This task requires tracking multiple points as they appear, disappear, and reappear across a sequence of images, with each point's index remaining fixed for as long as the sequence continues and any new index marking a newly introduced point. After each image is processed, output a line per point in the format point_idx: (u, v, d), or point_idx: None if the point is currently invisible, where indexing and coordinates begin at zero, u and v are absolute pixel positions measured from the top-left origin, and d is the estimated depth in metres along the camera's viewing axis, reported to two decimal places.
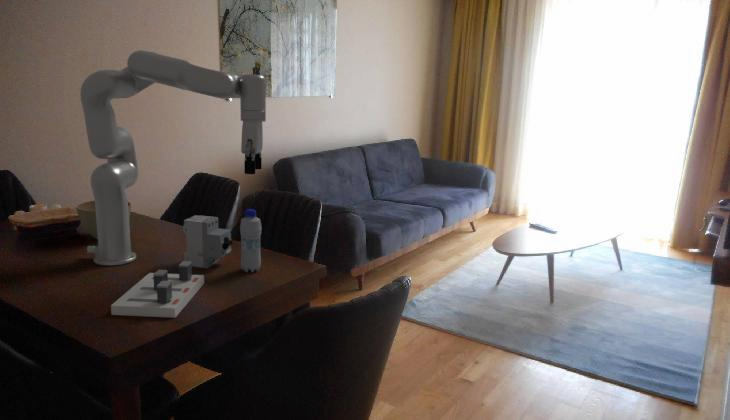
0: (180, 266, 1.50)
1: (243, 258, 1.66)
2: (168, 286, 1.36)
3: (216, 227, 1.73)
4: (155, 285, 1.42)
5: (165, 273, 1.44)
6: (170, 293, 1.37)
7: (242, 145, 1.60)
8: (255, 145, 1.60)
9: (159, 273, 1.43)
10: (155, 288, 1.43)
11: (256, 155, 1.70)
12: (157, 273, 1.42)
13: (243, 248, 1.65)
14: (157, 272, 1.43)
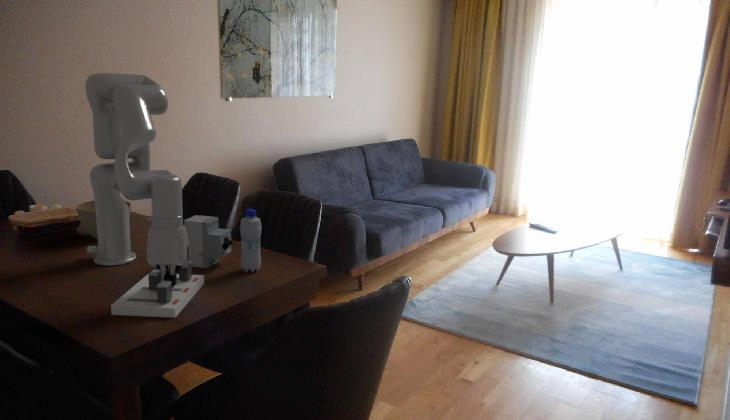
0: None
1: (243, 258, 1.66)
2: (168, 286, 1.36)
3: (216, 227, 1.73)
4: (150, 285, 1.42)
5: (160, 273, 1.44)
6: (170, 293, 1.37)
7: (184, 256, 1.40)
8: None
9: (154, 272, 1.43)
10: (150, 288, 1.43)
11: (168, 271, 1.44)
12: (152, 273, 1.42)
13: (243, 248, 1.65)
14: (152, 272, 1.43)
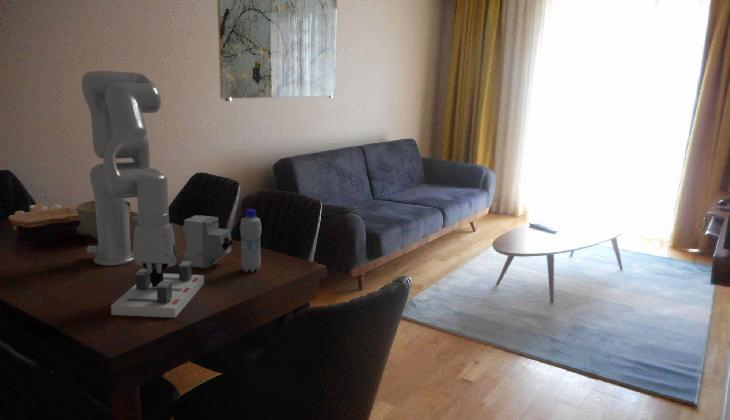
0: (180, 266, 1.50)
1: (243, 258, 1.66)
2: (168, 286, 1.36)
3: (216, 227, 1.73)
4: (137, 284, 1.42)
5: (147, 272, 1.44)
6: (170, 293, 1.37)
7: (170, 253, 1.40)
8: (175, 249, 1.44)
9: (141, 272, 1.43)
10: (137, 287, 1.43)
11: (155, 269, 1.43)
12: (139, 272, 1.42)
13: (243, 248, 1.65)
14: (139, 271, 1.43)
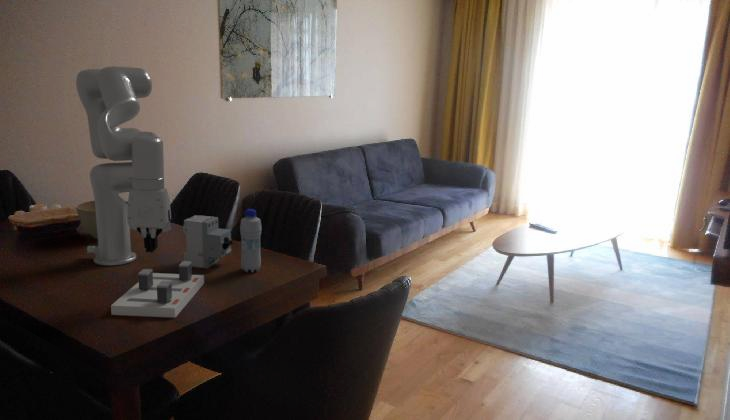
0: (180, 266, 1.50)
1: (243, 258, 1.66)
2: (168, 286, 1.36)
3: (216, 227, 1.73)
4: (140, 284, 1.42)
5: (150, 272, 1.44)
6: (170, 293, 1.37)
7: (165, 219, 1.38)
8: (170, 214, 1.42)
9: (144, 272, 1.43)
10: (140, 287, 1.43)
11: (149, 234, 1.42)
12: (142, 272, 1.42)
13: (243, 248, 1.65)
14: (142, 271, 1.43)
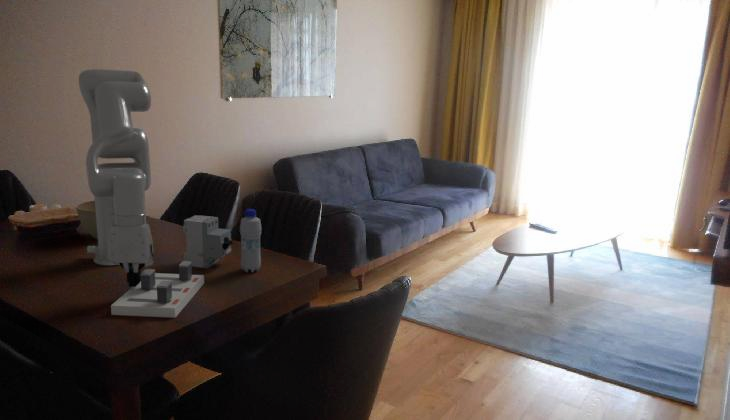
0: (180, 266, 1.50)
1: (243, 258, 1.66)
2: (168, 286, 1.36)
3: (216, 227, 1.73)
4: (142, 284, 1.42)
5: (152, 272, 1.44)
6: (170, 293, 1.37)
7: (147, 254, 1.40)
8: None
9: (146, 272, 1.43)
10: (142, 287, 1.43)
11: (132, 269, 1.43)
12: (144, 272, 1.42)
13: (243, 248, 1.65)
14: (144, 271, 1.43)
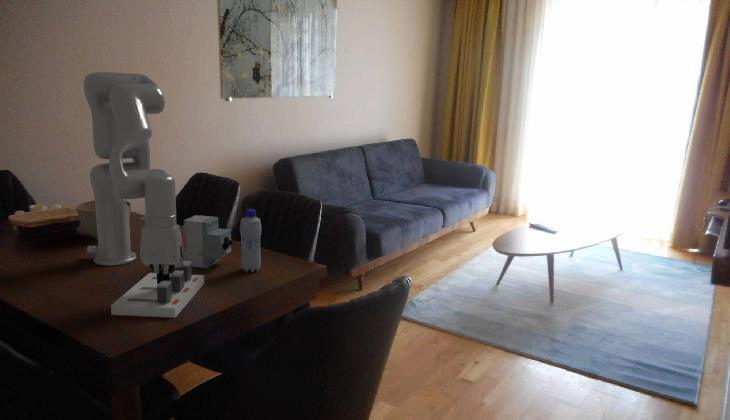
0: None
1: (243, 258, 1.66)
2: (168, 286, 1.36)
3: (216, 227, 1.73)
4: (172, 286, 1.42)
5: (182, 274, 1.44)
6: (170, 293, 1.37)
7: (177, 255, 1.40)
8: (182, 250, 1.44)
9: (176, 273, 1.43)
10: (172, 289, 1.43)
11: (162, 270, 1.43)
12: (174, 274, 1.42)
13: (243, 248, 1.65)
14: (174, 273, 1.43)
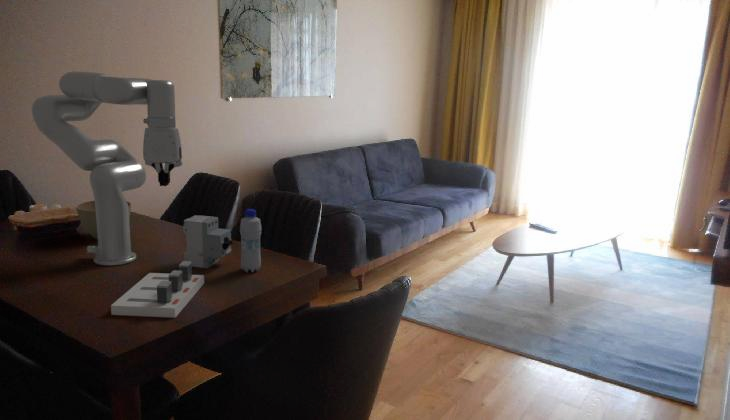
0: (180, 266, 1.50)
1: (243, 258, 1.66)
2: (168, 286, 1.36)
3: (216, 227, 1.73)
4: None
5: (180, 274, 1.44)
6: (170, 293, 1.37)
7: (177, 154, 1.55)
8: (181, 152, 1.59)
9: (174, 273, 1.43)
10: None
11: (162, 170, 1.59)
12: (172, 274, 1.42)
13: (243, 248, 1.65)
14: (172, 273, 1.43)
